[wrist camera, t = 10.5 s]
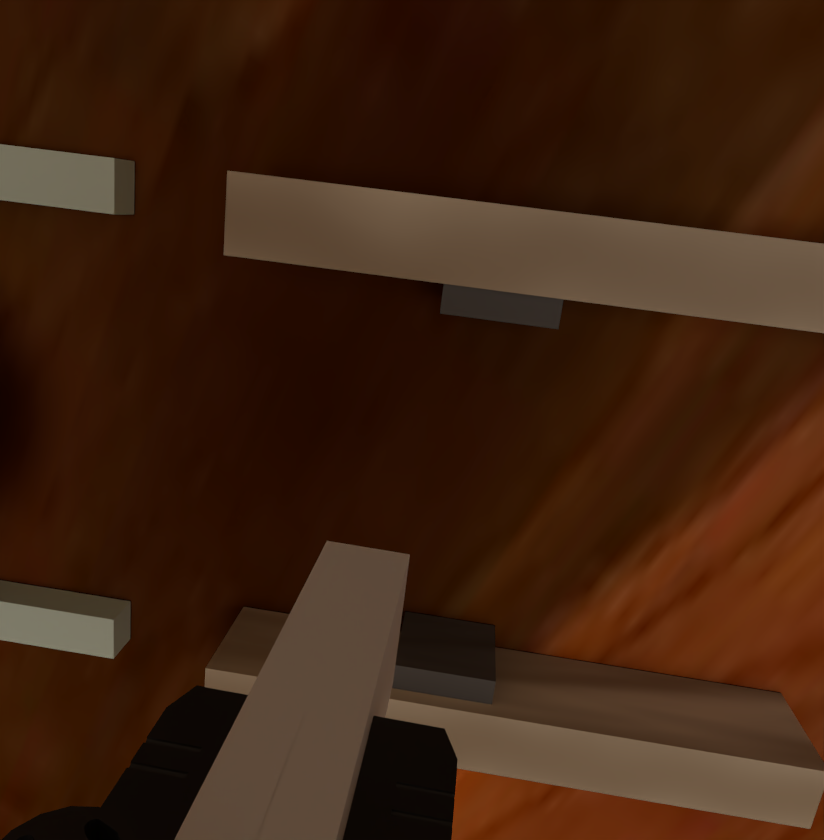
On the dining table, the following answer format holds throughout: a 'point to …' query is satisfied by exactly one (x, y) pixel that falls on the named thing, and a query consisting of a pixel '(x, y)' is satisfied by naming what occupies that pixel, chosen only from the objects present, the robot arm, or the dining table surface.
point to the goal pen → (26, 604)
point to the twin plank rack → (475, 643)
